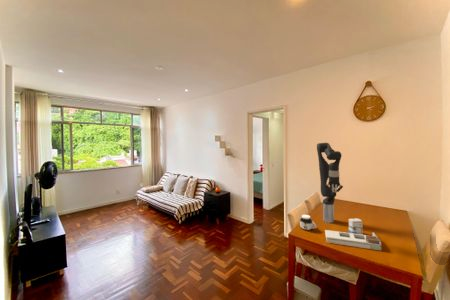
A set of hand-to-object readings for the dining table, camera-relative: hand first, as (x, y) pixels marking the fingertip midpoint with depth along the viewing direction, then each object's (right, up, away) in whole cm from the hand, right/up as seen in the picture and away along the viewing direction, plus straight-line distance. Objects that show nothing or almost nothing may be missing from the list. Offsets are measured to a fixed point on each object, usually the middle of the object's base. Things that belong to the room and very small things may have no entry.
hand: (334, 196), depth 160 cm
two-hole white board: (+7, -32, -9) cm, 34 cm away
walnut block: (+18, -30, -18) cm, 39 cm away
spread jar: (-16, -32, +13) cm, 38 cm away
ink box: (+18, -31, +1) cm, 36 cm away
